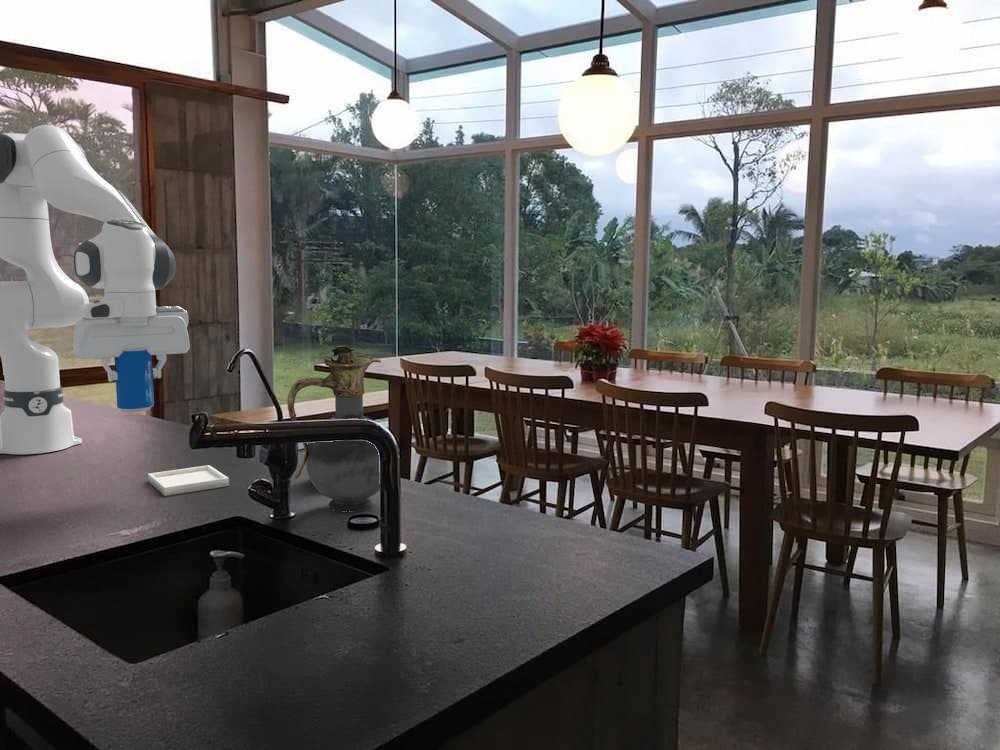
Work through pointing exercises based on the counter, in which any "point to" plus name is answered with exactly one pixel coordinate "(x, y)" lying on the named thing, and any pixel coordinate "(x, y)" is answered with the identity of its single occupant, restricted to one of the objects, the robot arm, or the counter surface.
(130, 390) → the beverage can
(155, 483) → the tray
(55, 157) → the robot arm
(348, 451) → the pitcher
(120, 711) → the counter surface
